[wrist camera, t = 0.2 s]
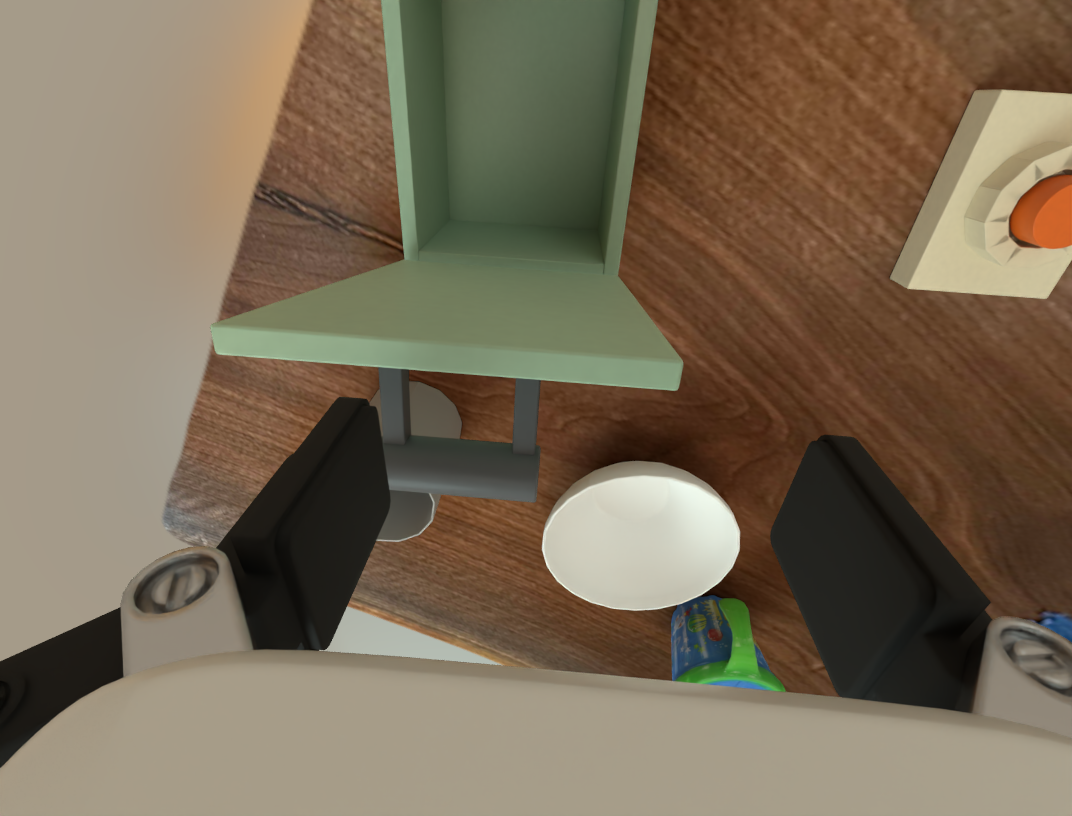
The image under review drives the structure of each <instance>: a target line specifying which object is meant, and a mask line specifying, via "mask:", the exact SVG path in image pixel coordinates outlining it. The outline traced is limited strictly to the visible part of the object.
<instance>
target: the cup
mask: <svg viewBox="0 0 1072 816" xmlns="http://www.w3.org/2000/svg"><path fill="white" fill-rule="evenodd" d="M409 391H410V418H411V435H418V436H430V437H442V438H454V439H460V434H461V428H462V421H461V419H460V416H459V414H458V411H457V409H456V406H455V405H454V404H453V403H452V402H451V401H450V400H449V399H448V398H447V397H446V396H445V395H444V394H443V393H442V392H441V391H440V390H438V389H435V388H433V387H430V386H428V385H426V384H423V383H421V382H414V381H409ZM369 404H370V406H375V407H376V408H377V411H378V416H379V423H380V430H381V436H383V432H382V416H381V400H380V389H379V390H378V391H377V393H376V394H375V395H374V397H373V398H372V400H371V401H370V403H369ZM390 497H391V502H390V509H389V512H388V515H387V517H386V519H385V522H384V524H383V526H382V529H381V531H380V533H379V535H378V538H377V540H376V541H397V542H399V541H402V540H405V539H408V538H411V537H415V536H418V535H420V534H421V533H422V532H423V531H424V530H425V529H426V527H427V526H428V525H429V524H430V523H431V522H432V521H433V518H434V515H435V512H436V509H437V506H438V503H439V500H440V497H441V494H431V493H419V492H407V491H396V490H390Z"/></svg>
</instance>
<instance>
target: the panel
mask: <svg viewBox="0 0 1072 816" xmlns="http://www.w3.org/2000/svg"><path fill="white" fill-rule="evenodd" d="M1058 175H1072V94H1067V93H1051V92H1035V91H1019V90H1004V89H1001V90H975V91H974V93H973V95H972V98H971V100H970V102H969V104H968V106H967V109H966V111H965V113H964V115H963V117H962V120H961V122H960V124H959V126H958V129H957V131H956V133H955V135H954V137H953V140H952V142H951V144H950V146H949V148H948V151H947V153H946V155H945V157H944V159H943V162H942V164H941V166H940V168H939V170H938V173H937V175H936V177H935V179H934V181H933V184H932V186H931V188H930V190H929V193H928V195H927V197H926V199H925V201H924V204H923V206H922V208H921V210H920V212H919V215H918V217H917V219H916V221H915V223H914V226H913V228H912V230H911V232H910V234H909V237H908V239H907V241H906V243H905V245H904V248H903V250H902V252H901V254H900V257H899V259H898V261H897V263H896V265H895V268H894V270H893V272H892V274H891V276H890V279H892V280H893V281H895V282H897V283H899V284H900V285H902V286H904V287H906V288H907V289H919V290H933V291H947V292H960V293H974V294H987V295H1001V296H1015V297H1028V298H1042V299H1046V298H1047V297H1048V296H1049V294H1050V293H1051V291H1052V290H1053V288H1054V287H1055V285H1056V283H1057V282H1058V280H1059V279H1060V277H1061V276H1062V274H1063V273H1064V271H1065V269H1066V268H1067V266H1068V265H1069V263H1070V262H1071V260H1072V245H1071V246H1068V247H1064V248H1059V249H1047V248H1044V247H1040V246H1037V245H1034V244H1031V243H1028V242H1025V241H1022V240H1019V239H1018V238H1016V237H1015V236H1014V235H1013V233H1012V231H1011V228H1010V218H1011V214H1012V212H1013V210H1014V207H1015V206H1016V204H1017V203H1018V201H1019V200H1020V199H1021V197H1022V196H1023V195H1024V194H1025V193H1026V192H1027V191H1028V190H1030V189H1031V188H1032V187H1033V186H1035V185H1036V184H1038V183H1040V182H1041V181H1043V180H1045V179H1048V178H1051V177H1054V176H1058Z"/></svg>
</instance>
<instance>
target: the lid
mask: <svg viewBox="0 0 1072 816" xmlns="http://www.w3.org/2000/svg"><path fill="white" fill-rule="evenodd" d="M211 333H212V338H213V343H214V348H215V352H216V353H217V354H221V355H234V356H246V357H259V358H271V359H284V360H296V361H309V362H322V363H334V364H347V365H359V366H372V367H378V368H379V384H380V400H381V416H382V432H383V436H382V443H383V450H384V457H385V463H386V470H387V477H388V483H389V490H396V491H407V492H419V493H431V494H442V495H454V496H466V497H477V498H489V499H500V500H512V501H524V502H536V498H537V487H538V475H539V463H540V449H541V448H540V446H538V445H536V437H537V424H538V410H539V396H540V382H541V380H548V381H560V382H573V383H585V384H598V385H610V386H623V387H636V388H648V389H661V390H673V391H675V390H678V388H679V384H680V379H681V374H682V368H683V361H682V359H681V358H680V357H679V355H678V354H677V353H676V351H675V350H674V349H673V347H672V346H671V345H670V343H669V342H668V341H667V340H666V338H665V337H664V336H663V334H662V333H661V332H660V330H659V329H658V328H657V326H656V325H655V324H654V322H653V321H652V320H651V318H650V317H649V316H648V315H647V313H646V312H645V311H644V309H643V308H642V307H641V305H640V304H639V303H638V301H637V300H636V299H635V297H634V296H633V295H632V294H631V292H630V291H629V290H628V288H627V287H626V286H625V284H624V283H623V282H622V280H621V279H620V278H619V276H614V275H601V274H587V273H574V272H560V271H547V270H533V269H519V268H506V267H492V266H479V265H465V264H452V263H438V262H425V261H411V260H402V261H399V262H396V263H393V264H390V265H387V266H384V267H381V268H378V269H375V270H372V271H369V272H366V273H363V274H360V275H357V276H354V277H351V278H348V279H345V280H342V281H339V282H336V283H333V284H330V285H327V286H324V287H321V288H318V289H315V290H312V291H309V292H306V293H303V294H300V295H297V296H294V297H291V298H288V299H285V300H282V301H279V302H276V303H273V304H270V305H267V306H264V307H261V308H258V309H255V310H252V311H249V312H246V313H243V314H240V315H237V316H234V317H231V318H228V319H225V320H222V321H219V322H216V323H213V324H212V325H211ZM409 370H422V371H435V372H447V373H460V374H472V375H485V376H497V377H510V378H516V387H515V406H514V425H513V443H502V442H490V441H478V440H466V439H454V438H442V437H430V436H418V435H411V418H410V391H409Z"/></svg>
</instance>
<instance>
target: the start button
mask: <svg viewBox="0 0 1072 816" xmlns="http://www.w3.org/2000/svg"><path fill="white" fill-rule="evenodd" d="M1010 228H1011V231H1012V233H1013V235H1014V236H1015V237H1016V238H1018V239H1019V240H1022V241H1025V242H1028V243H1031V244H1034V245H1037V246H1040V247H1044V248H1047V249H1059V248H1064V247H1068V246H1071V245H1072V175H1058V176H1054V177H1051V178H1048V179H1045V180H1043V181H1041V182H1040V183H1038V184H1036V185H1035V186H1033V187H1032V188H1031V189H1030V190H1028V191H1027V192H1026V193H1025V194H1024V195H1023V196H1022V197H1021V199H1020V200H1019V201H1018V203H1017V204H1016V206H1015V207H1014V210H1013V212H1012V214H1011V218H1010Z"/></svg>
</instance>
